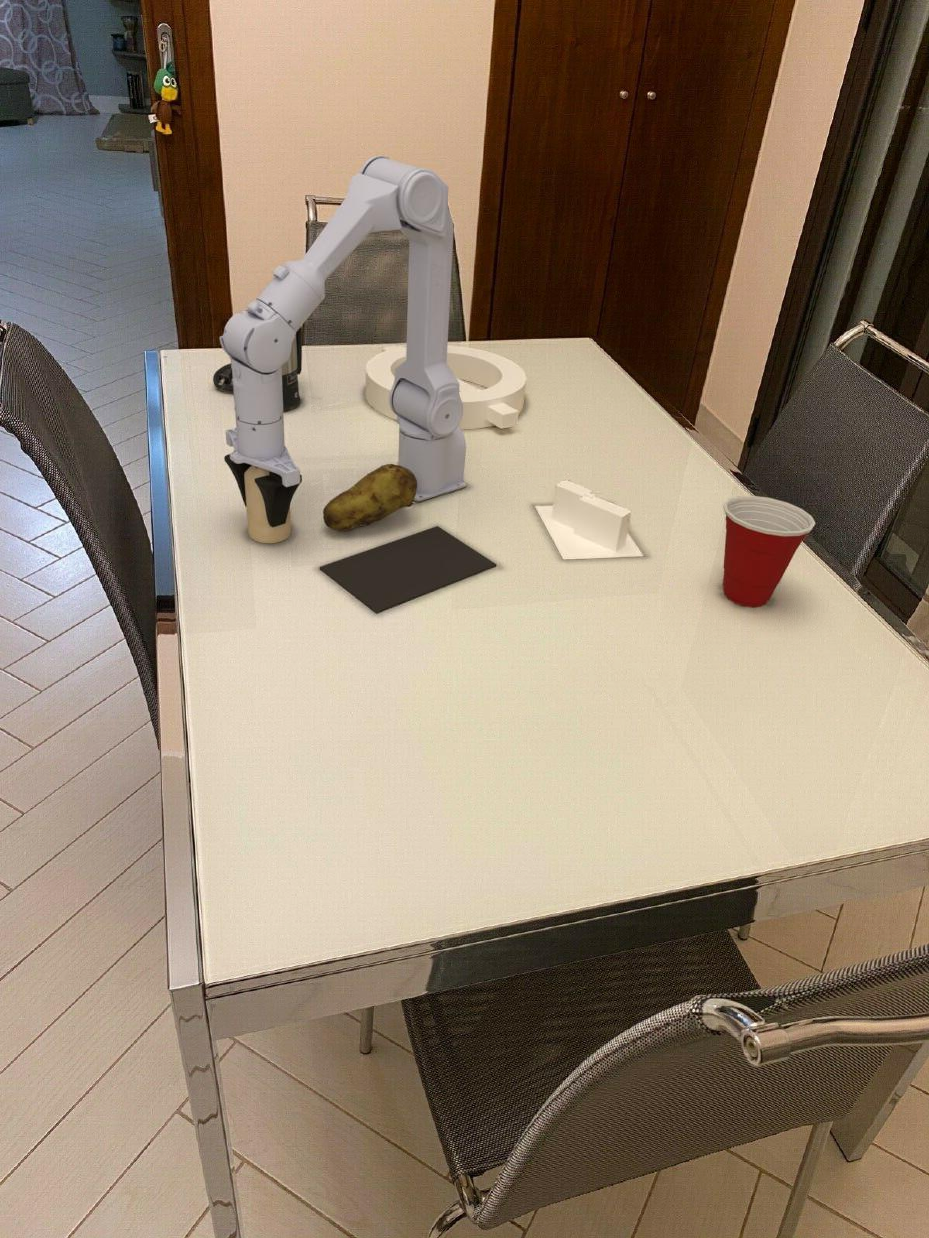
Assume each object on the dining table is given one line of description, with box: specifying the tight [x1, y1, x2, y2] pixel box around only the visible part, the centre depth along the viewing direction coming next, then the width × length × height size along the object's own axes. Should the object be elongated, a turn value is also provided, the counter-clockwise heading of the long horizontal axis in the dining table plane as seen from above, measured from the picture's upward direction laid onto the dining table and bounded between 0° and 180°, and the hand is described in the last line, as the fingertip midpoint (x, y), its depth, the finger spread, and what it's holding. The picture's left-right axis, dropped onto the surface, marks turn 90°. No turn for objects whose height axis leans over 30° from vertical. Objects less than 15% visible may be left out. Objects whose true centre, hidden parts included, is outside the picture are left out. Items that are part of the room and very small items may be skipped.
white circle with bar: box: [365, 344, 527, 430], centre depth 166 cm, size 28×28×5 cm
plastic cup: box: [722, 495, 817, 608], centre depth 116 cm, size 11×11×12 cm
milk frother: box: [212, 309, 303, 412], centre depth 157 cm, size 14×16×15 cm
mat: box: [319, 525, 498, 614], centre depth 119 cm, size 19×12×1 cm, turn 130°
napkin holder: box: [534, 479, 644, 560], centre depth 129 cm, size 15×11×6 cm
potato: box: [322, 463, 417, 532], centre depth 125 cm, size 8×13×8 cm, turn 102°
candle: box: [244, 465, 292, 544], centre depth 120 cm, size 6×6×10 cm
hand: (265, 514), depth 121 cm, fingers closed on candle, 5 cm apart
